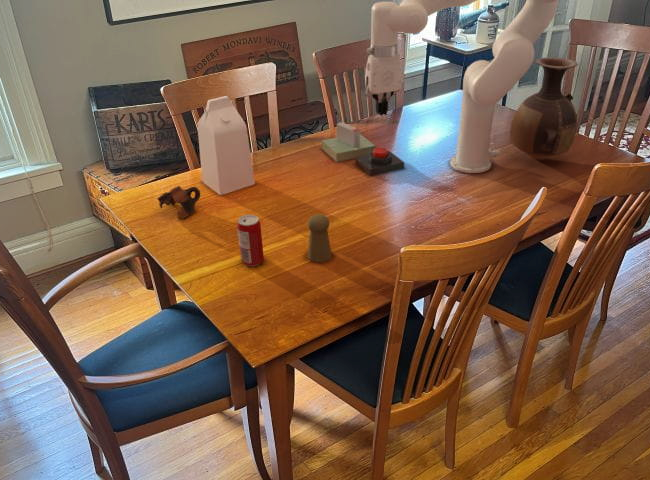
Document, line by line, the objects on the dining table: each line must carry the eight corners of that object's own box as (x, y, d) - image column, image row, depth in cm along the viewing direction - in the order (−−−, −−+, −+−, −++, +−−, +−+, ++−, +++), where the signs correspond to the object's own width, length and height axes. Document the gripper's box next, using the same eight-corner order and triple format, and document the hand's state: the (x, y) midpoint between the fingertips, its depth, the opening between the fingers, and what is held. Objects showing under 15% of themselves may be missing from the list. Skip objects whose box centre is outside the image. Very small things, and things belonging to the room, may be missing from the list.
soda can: (266, 255, 155) (262, 213, 148) (261, 267, 151) (256, 225, 144) (244, 254, 156) (239, 212, 149) (239, 266, 152) (233, 223, 145)
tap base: (337, 162, 199) (337, 153, 197) (321, 148, 209) (320, 139, 207) (375, 154, 203) (376, 145, 201) (358, 140, 213) (358, 132, 211)
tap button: (383, 151, 196) (383, 146, 195) (389, 157, 193) (389, 151, 192) (370, 154, 195) (370, 149, 194) (377, 159, 191) (377, 154, 190)
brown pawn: (306, 250, 157) (305, 212, 150) (330, 248, 157) (329, 210, 151) (308, 263, 152) (306, 224, 146) (332, 261, 153) (332, 222, 146)
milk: (236, 171, 196) (226, 89, 180) (255, 184, 188) (246, 99, 172) (202, 181, 190) (189, 97, 175) (220, 195, 183) (208, 109, 167)
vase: (558, 178, 186) (581, 77, 168) (495, 165, 194) (511, 67, 176) (577, 151, 201) (600, 56, 183) (518, 140, 210) (535, 48, 192)
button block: (388, 157, 201) (389, 145, 199) (404, 168, 194) (404, 156, 192) (355, 163, 198) (356, 152, 195) (370, 176, 190) (370, 164, 188)
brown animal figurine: (174, 225, 170) (157, 199, 167) (167, 225, 179) (152, 200, 176) (210, 203, 173) (194, 177, 171) (202, 203, 182) (187, 179, 179)
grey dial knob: (336, 139, 206) (336, 123, 203) (342, 137, 207) (342, 121, 204) (354, 147, 201) (354, 130, 197) (359, 145, 202) (360, 129, 198)
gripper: (365, 57, 170) (364, 122, 181) (413, 50, 174) (409, 113, 185) (354, 50, 175) (353, 114, 186) (400, 43, 180) (397, 106, 191)
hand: (381, 113), depth 186 cm, fingers closed
